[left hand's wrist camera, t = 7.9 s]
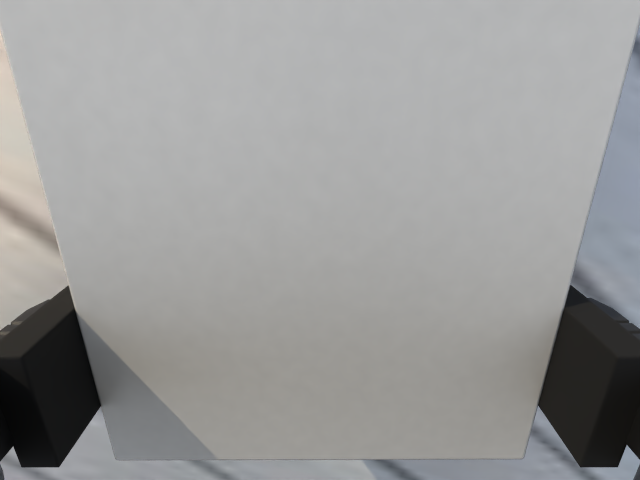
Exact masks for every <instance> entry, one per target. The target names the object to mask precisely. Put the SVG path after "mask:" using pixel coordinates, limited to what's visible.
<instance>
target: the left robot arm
mask: <svg viewBox="0 0 640 480" xmlns="http://www.w3.org/2000/svg"><path fill="white" fill-rule="evenodd" d="M100 406H101V404H100V400H99V396H98V393H97V389H96V385H95V382H94V378H93V374H92V370H91V367H90V363H89V359H88V355H87V352H86V348H85V344H84V340H83V337H82V333H81V329H80V326H79V322H78V318H77V314H76V311H75V307H74V303H73V299H72V296H71V292H70V288H69V285H68V286H67V287H66V288H64V289H63V290H62V291H61V292H59V293H58V294H57V295H56V296H54V297H53V298H52V299H51V300H47V301H45V302H43V303H41V304H38V305H36V306H34V307H32V308H30V309H28V310H27V311H25V312H24V313H23V314H21V315H20V316H19V317H17V318H16V319H15V320H14V321H12V322H11V325H7V326H6V327H4V328H3V329H2V330H1V331H0V461H1V460H2V459H3V457H4V456H5V455H6V454H7V453H8V452H9V450H10V449H11V448H12V447H14V449H15V452H16V454H17V457H18V459H19V462H20V464H21V467H60V465H61V464H62V462H63V461H64V459H65V458H66V456H67V455H68V453H69V452H70V450H71V449H72V447H73V446H74V445H75V443H76V442H77V440H78V439H79V437H80V436H81V434H82V433H83V431H84V430H85V428H86V427H87V425H88V424H89V423H90V421H91V420H92V418H93V417H94V415H95V414H96V412H97V411H98V409H99V408H100ZM538 406H539V407H540V409H541V410H542V411H543V413H544V414H545V416H546V417H547V419H548V420H549V422H550V423H551V425H552V426H553V428H554V429H555V431H556V432H557V433H558V435H559V436H560V438H561V439H562V441H563V442H564V444H565V445H566V447H567V448H568V450H569V451H570V453H571V454H572V455H573V457H574V458H575V460H576V461H577V463H578V464H579V466H580V467H618V465H619V463H620V460H621V458H622V455H623V453H624V450H625V447H626V445H628V446H629V448H630V449H631V450H632V451H633V452H634V453H635V455H636V456H637V457H638V458H639V459H640V329H639V328H638V327H636V326H635V325H634V324H632V323H629V321H628V320H627V319H626V318H624V317H623V316H622V315H621V314H619V313H618V312H617V311H615V310H614V309H613V308H611V307H608V306H606V305H604V304H602V303H600V302H598V301H596V300H594V299H592V298H586V297H585V296H584V295H583V294H581V293H580V292H579V291H577V290H576V289H575V288H574V287H572V286H571V285H570V287H569V291H568V295H567V298H566V302H565V306H564V310H563V313H562V317H561V321H560V325H559V328H558V332H557V336H556V340H555V343H554V347H553V351H552V355H551V358H550V362H549V366H548V370H547V373H546V377H545V381H544V385H543V388H542V392H541V396H540V400H539V403H538ZM0 480H4V475H3V470H2V468H1V465H0ZM634 480H640V465H639V468H638V470H637V472H636V475H635V477H634Z"/></svg>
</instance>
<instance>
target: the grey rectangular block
mask: <svg viewBox="0 0 640 480" xmlns="http://www.w3.org/2000/svg"><path fill="white" fill-rule="evenodd" d="M639 25H640V0H0V31H1V34H2V38H3V42H4V46H5V49H6V53H7V57H8V61H9V64H10V68H11V72H12V75H13V79H14V83H15V87H16V90H17V94H18V98H19V102H20V105H21V109H22V113H23V117H24V120H25V124H26V128H27V131H28V135H29V139H30V143H31V146H32V150H33V154H34V158H35V161H36V165H37V169H38V173H39V176H40V180H41V184H42V187H43V191H44V195H45V199H46V202H47V206H48V210H49V214H50V217H51V221H52V225H53V229H54V232H55V236H56V240H57V243H58V247H59V251H60V255H61V258H62V262H63V266H64V270H65V273H66V277H67V281H68V285H69V288H70V292H71V296H72V299H73V303H74V307H75V311H76V314H77V318H78V322H79V326H80V329H81V333H82V337H83V340H84V344H85V348H86V352H87V355H88V359H89V363H90V367H91V370H92V374H93V378H94V382H95V385H96V389H97V393H98V396H99V400H100V404H101V408H102V411H103V415H104V419H105V423H106V426H107V430H108V434H109V438H110V441H111V445H112V449H113V452H114V456H115V459H116V460H415V459H523V458H524V456H525V452H526V448H527V445H528V441H529V437H530V433H531V430H532V426H533V422H534V418H535V415H536V411H537V407H538V403H539V400H540V396H541V392H542V388H543V385H544V381H545V377H546V373H547V370H548V366H549V362H550V358H551V355H552V351H553V347H554V343H555V340H556V336H557V332H558V328H559V325H560V321H561V317H562V313H563V310H564V306H565V302H566V298H567V295H568V291H569V287H570V283H571V280H572V276H573V272H574V268H575V265H576V261H577V257H578V253H579V250H580V246H581V242H582V238H583V235H584V231H585V227H586V223H587V220H588V216H589V212H590V208H591V205H592V201H593V197H594V193H595V190H596V186H597V182H598V178H599V175H600V171H601V167H602V163H603V160H604V156H605V152H606V148H607V145H608V141H609V137H610V133H611V130H612V126H613V122H614V118H615V115H616V111H617V107H618V103H619V100H620V96H621V92H622V89H623V85H624V81H625V77H626V74H627V70H628V66H629V62H630V59H631V55H632V51H633V47H634V44H635V40H636V36H637V32H638V29H639Z"/></svg>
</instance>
